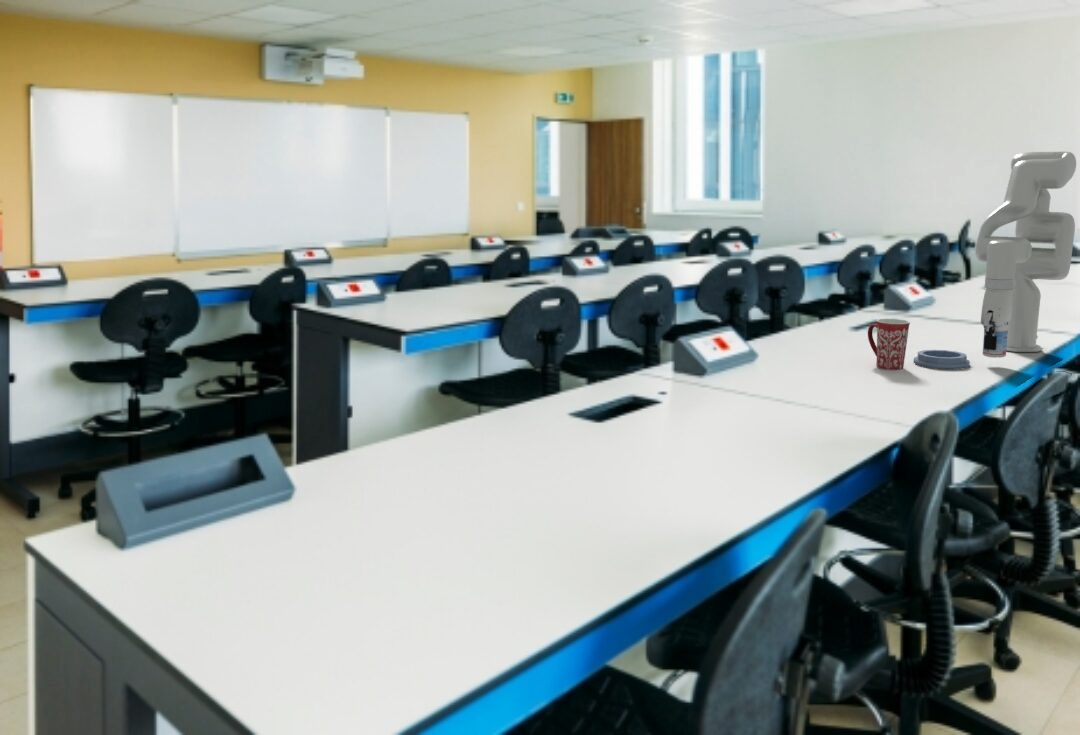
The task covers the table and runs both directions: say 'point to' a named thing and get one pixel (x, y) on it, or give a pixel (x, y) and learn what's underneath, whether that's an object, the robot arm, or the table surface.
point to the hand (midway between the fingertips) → (994, 346)
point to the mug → (890, 342)
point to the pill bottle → (998, 342)
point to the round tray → (942, 359)
